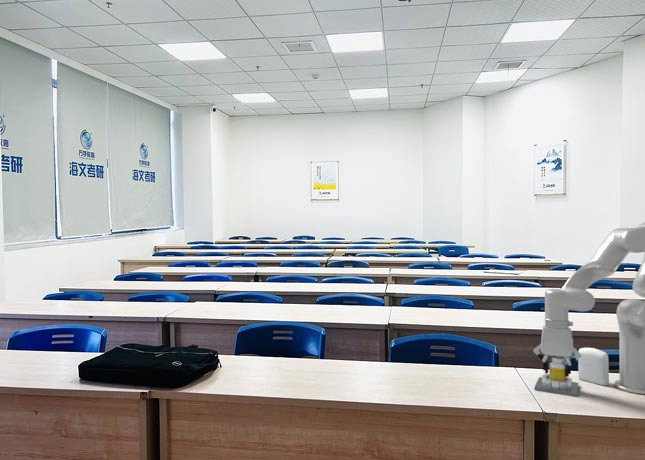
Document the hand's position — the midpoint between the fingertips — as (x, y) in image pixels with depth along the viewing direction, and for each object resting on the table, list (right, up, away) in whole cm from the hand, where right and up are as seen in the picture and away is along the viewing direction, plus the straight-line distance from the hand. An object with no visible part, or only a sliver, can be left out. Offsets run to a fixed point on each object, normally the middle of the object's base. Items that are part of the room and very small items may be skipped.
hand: (557, 373), depth 168 cm
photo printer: (+17, -5, +6) cm, 18 cm away
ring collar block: (0, -5, 0) cm, 5 cm away
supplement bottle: (0, -4, 0) cm, 4 cm away
